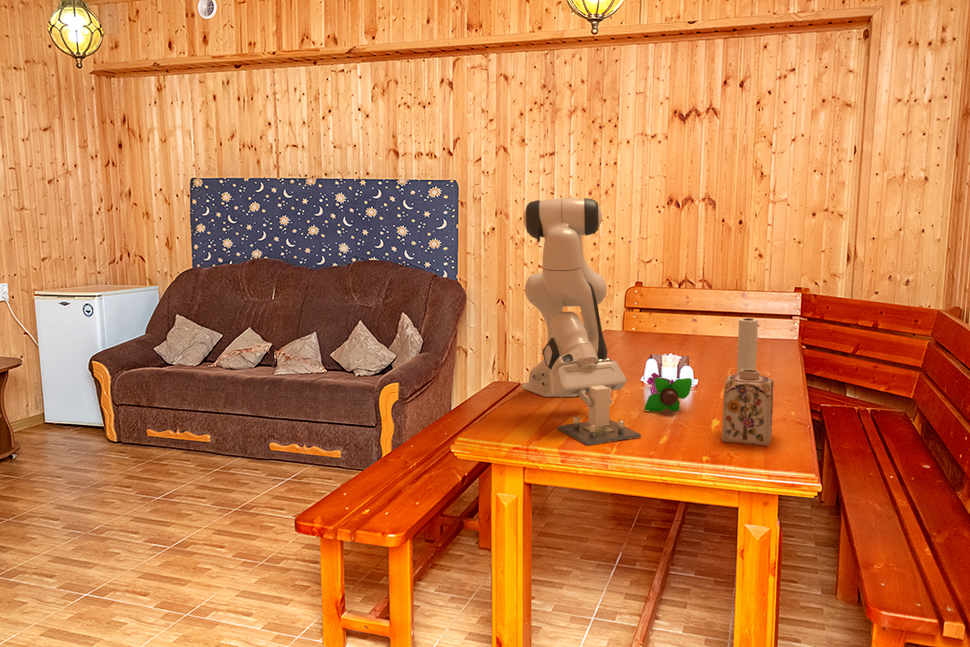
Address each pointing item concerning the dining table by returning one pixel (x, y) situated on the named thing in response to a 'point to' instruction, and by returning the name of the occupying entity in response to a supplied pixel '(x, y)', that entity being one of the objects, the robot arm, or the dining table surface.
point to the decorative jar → (748, 408)
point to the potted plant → (666, 393)
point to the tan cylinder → (747, 344)
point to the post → (599, 405)
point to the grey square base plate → (598, 432)
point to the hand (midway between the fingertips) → (600, 404)
